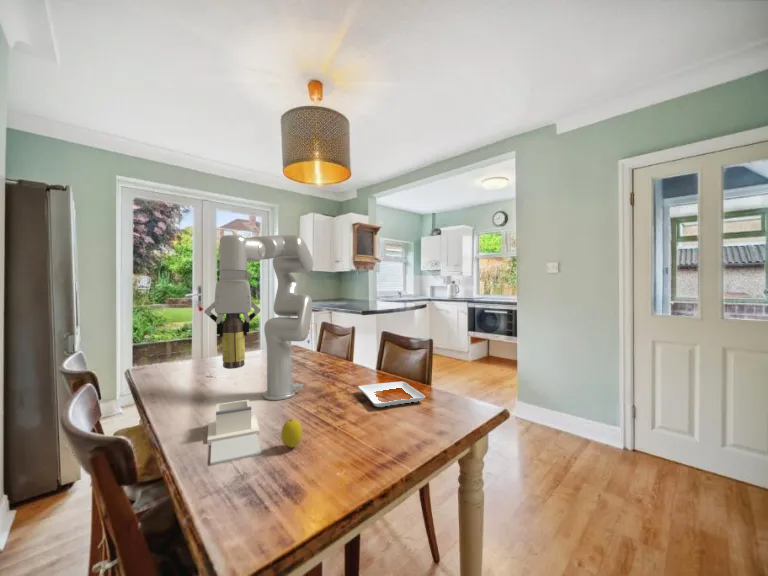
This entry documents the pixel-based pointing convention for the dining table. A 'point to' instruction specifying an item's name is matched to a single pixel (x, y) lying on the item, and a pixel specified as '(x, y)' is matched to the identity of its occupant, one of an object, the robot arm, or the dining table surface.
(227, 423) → the caddy
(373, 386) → the salad plate
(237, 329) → the sauce bottle
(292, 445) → the lemon
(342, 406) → the dining table surface
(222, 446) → the mat
